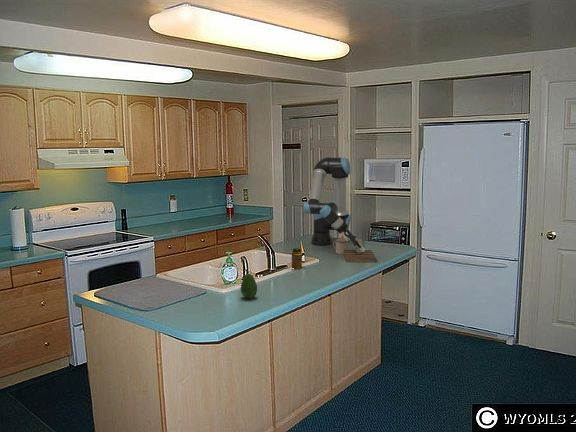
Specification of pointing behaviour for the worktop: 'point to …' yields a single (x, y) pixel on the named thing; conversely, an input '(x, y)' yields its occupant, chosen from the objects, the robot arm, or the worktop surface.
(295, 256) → the condiment
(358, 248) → the birch pin
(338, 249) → the teacup with lid
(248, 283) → the avocado
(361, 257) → the walnut hole block
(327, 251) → the worktop surface
